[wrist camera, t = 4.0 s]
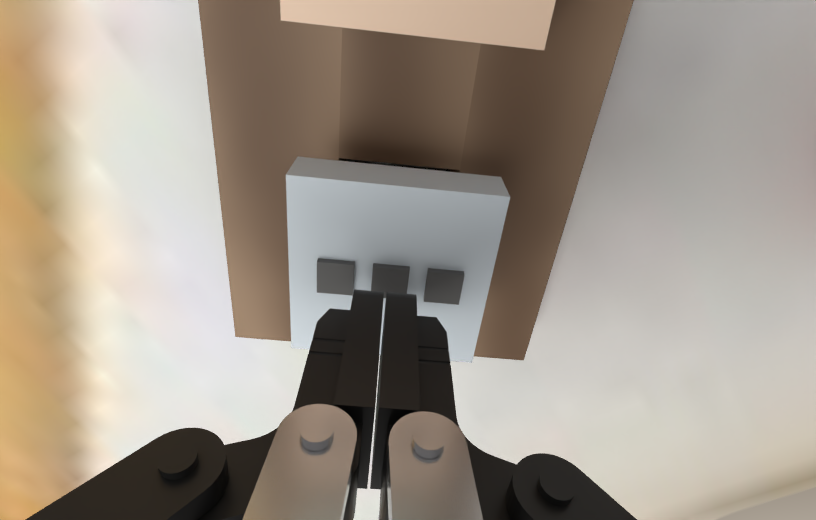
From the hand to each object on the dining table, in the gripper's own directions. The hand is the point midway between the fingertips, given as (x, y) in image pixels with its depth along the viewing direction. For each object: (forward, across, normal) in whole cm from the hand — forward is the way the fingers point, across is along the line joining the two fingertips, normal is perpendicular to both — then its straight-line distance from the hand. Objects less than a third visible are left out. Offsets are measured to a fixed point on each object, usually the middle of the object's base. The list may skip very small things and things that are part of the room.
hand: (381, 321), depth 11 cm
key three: (+6, 0, 0) cm, 6 cm away
